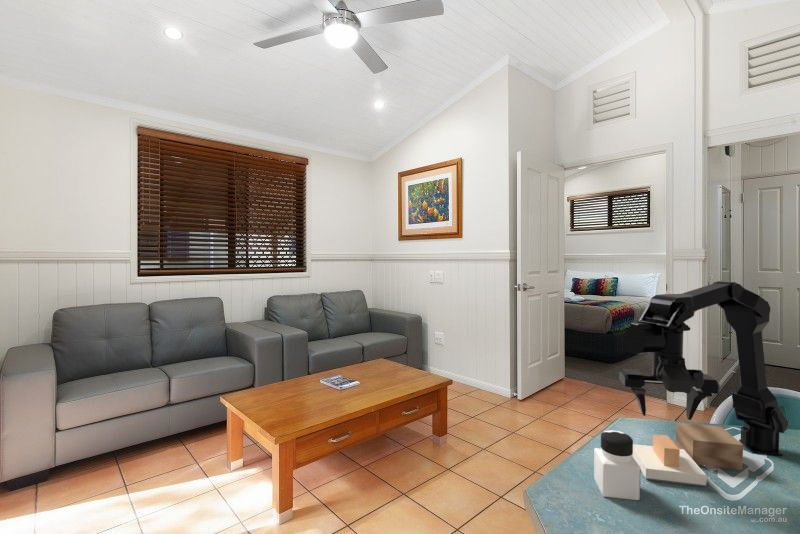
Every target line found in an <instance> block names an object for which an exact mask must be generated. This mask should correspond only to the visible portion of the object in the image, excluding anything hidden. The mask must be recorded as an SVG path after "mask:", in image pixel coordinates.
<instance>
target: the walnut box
mask: <svg viewBox="0 0 800 534" xmlns="http://www.w3.org/2000/svg"><path fill="white" fill-rule="evenodd" d="M675 425H676V426H675V445H676V446H677V447H678V448H679V449H684V450H685V451H686V453H687V454H688V455H689V456H690V457H691V458H692V459H693V460H694V462H695V463H696V464H697V465H705V466H704V467H707V466H714V467H713V468H716V467H719V469H724V470H725V469H726V470H736V471H743V460H744V459H743V458H744V445H743V444H742V443H741V442H739V440H738V439H737V438H736V437H735V436H733V435H732V434H731V433H729V432H728V431H727V430H726V429H725V428H724V427H722V426H718V425H708V424H707V425H706V424H698V423H696V424H695V423H685V422H684V423H683V422H676V423H675Z"/></svg>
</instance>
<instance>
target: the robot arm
mask: <svg viewBox="0 0 800 534" xmlns="http://www.w3.org/2000/svg"><path fill="white" fill-rule="evenodd" d="M714 305H717V306H718V307H719V308H720V309H722V310H723V312H724V315H725V319H726V323H728V324H729V326H730V327H731V328H732V329H733V331H734V332H735V339H736V340H735V341H736V347H737V348H736V350H737V360H738V367H739V368H738V369H739V377H740V378H739V379H740V380H739V381H740V386H739V388H738V389H736V390H737V391H736V392H733V393H732V394H731V397H732V405H731V406H732V408H733V409H734V412H735V417H736V420H738V421H742V423H743V424H742V426H741V427H740V439H739V440H738V441H739V442H740V443H741V444H743V447H745V448H747V449H748V450H749V451H750V452H751V453H755V454H763V455H764V454H765V455H773V456H784V453H783V452H782V451H780V450H779V449H780V433H781V434H784V433H785V431H787V430H788V428H789V427H788V426H789V421H788V419H787V418H786V417H785V416H784V414H783V413H782V412H781V410H780V408H779V403H778V399H777V397H776V396H775V395H774V394H773V393H772V390H770V389H769V388H768V384H767V374H766V373H767V372H766V364H765V354H764V352H765V351H764V341H763V333H762V332H763V330H764V329H765V328H766V326H767V325H768V324H769V322H770V314H771V306H770V304H769V302H768V301H767V300H766V299H765V298H763V297H761V296H760V295H759V294H756V292H755V293H754V292H753V291H750V290H748V289H746V288H745V287H743V285H742V284H740V283H737V282H736V281H723V280H719V281H718V280H717V281H714V282H713V283H711V284H708V285H704V286H702V287H698V288H695V289H692V290H689V291H686V292H682V293H665V294H664V293H663V294H661V293H660V294H656V295H653V296H652V297H651V298H650V301H649V302H648V304H647V305H646V308H645V309H644V311H643V312H642V315H641V316H640V317H639V320H637V321H638V322H631V323H630V327H629V328H628V329H626V330H625V332H623V333H624V334H623V335H622V343H623V345H624V347H625V349H626V351H628V352H629V353H630V354H634V355H641V354H651V356H652V367H651V368H650V373H651V374H644V373H642V372H641V371H640V370H639V369H633V368H632V369H630V368H621V369H620V370H619V372H618V376H619V377H618V380H619V381H620V382H621V384H622V385H623V386H624V387H627V388H629V390H630V391H633V394H634V396H635V399H636V401H637V404H638V407H639V409H640V412H641V415H642V416H643V417H645V416H646V411H647V409H646V408H647V407H646V392H647V390H646V388H645V387H644V386H645V385H646V384H653V385H654V384H655V385H664V389H665V390H666V391H667V392H670V393H684V394H686V405H685V406H686V408H685V410H686V419H687V420H689V421H692V418H693V417H694V415H695V412H696V411H697V409H698V407H699V405H700V403H702V401H703V400H704V399H706V398H707V397H710V398H711V397H712V396H713V394H716V395H718V394H721V385H720V383H719V381H718V380H717V379H715V378H714V377H712V376H711V375H709V374H708V373H704V372H703V370H701V369H690V368H689V369H688V368H687V366H686V358H684V332H688V331H689V332H690V331H691V327H690V326H689V325H687V324H686V323H685V322H686V321H688V320H690V319H692V318H693V317H694V316H695V313H696V312H697V311H700V310H702V309H705V308H709V307H711V306H714Z"/></svg>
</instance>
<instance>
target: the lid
mask: <svg viewBox="0 0 800 534" xmlns="http://www.w3.org/2000/svg"><path fill="white" fill-rule="evenodd" d="M652 437H653V440H652V441H653V442H652V445H643V444H636V443H635V444H634V443H633V458H634V459H635V461H636V462H637V463H638V465H639V466H640V472H641V473H642V474H643V476H644V477H645V479H646V478H650V479H658V480H666V481H675V482H683V483H691V484H700V485H704V486H707V474H706V473H705V472H704V471H703V469H702V468H700V466H698V465H697V464H696V463H695V462H694V460H693V459H692V458H691V457H690V456H689V455H688V454H687V453H686V451H685V450H684V449H679V448H678V447H677V446H676V443H675V442H674V441H673V440H672V438H671V437H670V436H668V435H666V434H665V435H664V434H656V433H654V434H653V436H652Z"/></svg>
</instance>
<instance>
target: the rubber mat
mask: <svg viewBox="0 0 800 534" xmlns="http://www.w3.org/2000/svg"><path fill="white" fill-rule="evenodd" d="M645 480H647V481H654V482H662V483H672V484H679V485H687V486H694V487H695V486H696V487H705V485H700V484H691V483H683V482H675V481H666V480H658V479H650V478H645Z"/></svg>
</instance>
